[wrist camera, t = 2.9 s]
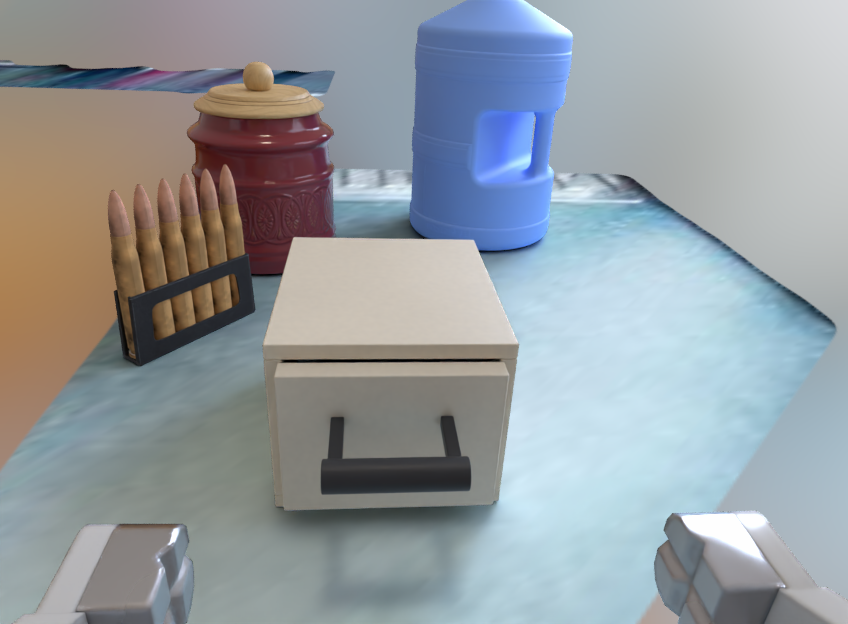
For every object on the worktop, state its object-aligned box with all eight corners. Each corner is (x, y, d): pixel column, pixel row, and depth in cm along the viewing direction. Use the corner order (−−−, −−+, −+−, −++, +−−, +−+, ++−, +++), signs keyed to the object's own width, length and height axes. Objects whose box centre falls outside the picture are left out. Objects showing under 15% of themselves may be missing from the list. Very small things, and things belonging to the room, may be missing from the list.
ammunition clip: (240, 304, 52) (226, 159, 47) (256, 310, 51) (243, 164, 46) (122, 357, 44) (89, 190, 39) (139, 366, 43) (107, 196, 38)
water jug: (381, 232, 69) (386, -64, 56) (451, 199, 81) (468, -50, 69) (511, 265, 62) (550, -63, 50) (566, 224, 74) (609, -48, 62)
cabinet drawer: (510, 576, 28) (532, 435, 24) (272, 585, 27) (258, 439, 23) (460, 371, 43) (469, 265, 39) (305, 372, 42) (299, 264, 38)
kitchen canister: (360, 259, 62) (360, 68, 54) (234, 289, 55) (212, 73, 47) (298, 221, 71) (290, 53, 63) (182, 243, 64) (156, 55, 56)
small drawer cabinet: (498, 501, 33) (519, 344, 29) (275, 507, 32) (262, 344, 28) (463, 364, 45) (474, 239, 41) (299, 365, 44) (292, 236, 40)
